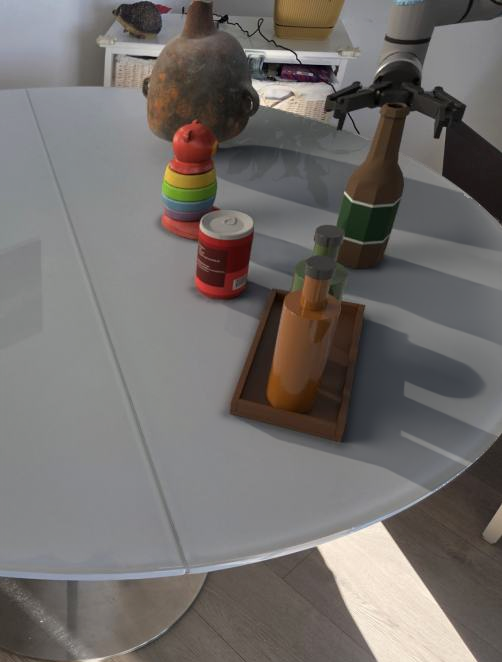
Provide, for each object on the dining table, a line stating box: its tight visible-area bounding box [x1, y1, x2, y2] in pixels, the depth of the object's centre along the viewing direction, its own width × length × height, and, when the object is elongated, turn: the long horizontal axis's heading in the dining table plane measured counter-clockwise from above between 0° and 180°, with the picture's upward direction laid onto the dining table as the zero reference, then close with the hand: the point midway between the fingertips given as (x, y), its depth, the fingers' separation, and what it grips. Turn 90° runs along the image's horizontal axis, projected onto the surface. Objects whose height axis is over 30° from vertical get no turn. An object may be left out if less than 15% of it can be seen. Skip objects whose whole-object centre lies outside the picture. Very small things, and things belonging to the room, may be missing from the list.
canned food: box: [194, 209, 255, 300], centre depth 95 cm, size 8×8×11 cm
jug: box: [141, 0, 261, 144], centre depth 131 cm, size 24×21×30 cm
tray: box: [228, 287, 366, 443], centre depth 83 cm, size 13×26×2 cm, turn 154°
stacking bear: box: [161, 120, 222, 241], centre depth 109 cm, size 11×10×18 cm
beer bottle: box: [335, 102, 411, 270], centre depth 94 cm, size 8×8×24 cm
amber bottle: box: [266, 255, 341, 414], centre depth 72 cm, size 6×6×19 cm
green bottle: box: [289, 224, 349, 305], centre depth 77 cm, size 6×6×19 cm
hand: (388, 125), depth 97 cm, fingers open, 13 cm apart
